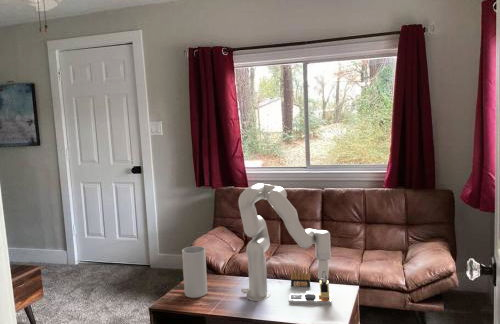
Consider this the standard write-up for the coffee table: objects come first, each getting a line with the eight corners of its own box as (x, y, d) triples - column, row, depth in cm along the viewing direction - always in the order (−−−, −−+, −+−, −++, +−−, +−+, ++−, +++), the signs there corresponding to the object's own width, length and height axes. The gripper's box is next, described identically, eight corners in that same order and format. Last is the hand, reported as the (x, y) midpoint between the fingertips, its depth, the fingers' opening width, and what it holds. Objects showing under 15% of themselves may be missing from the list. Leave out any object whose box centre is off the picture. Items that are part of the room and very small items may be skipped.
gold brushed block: (320, 297, 215) (319, 283, 215) (320, 293, 220) (319, 280, 219) (329, 297, 215) (328, 283, 214) (329, 293, 219) (328, 280, 218)
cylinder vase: (180, 293, 237) (177, 249, 235) (200, 287, 245) (197, 244, 242) (191, 300, 227) (189, 255, 225) (211, 293, 235) (209, 249, 232)
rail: (289, 305, 217) (289, 299, 216) (290, 299, 224) (289, 293, 224) (331, 306, 213) (331, 301, 213) (330, 300, 221) (330, 294, 221)
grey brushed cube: (306, 302, 217) (305, 294, 217) (306, 299, 221) (305, 290, 221) (314, 302, 216) (314, 294, 216) (314, 299, 221) (314, 290, 220)
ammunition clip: (310, 287, 238) (309, 266, 237) (310, 288, 237) (309, 267, 235) (291, 286, 240) (290, 266, 239) (290, 288, 238) (290, 267, 237)
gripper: (315, 249, 224) (316, 283, 226) (315, 260, 207) (316, 297, 209) (330, 249, 223) (331, 283, 225) (331, 260, 206) (332, 297, 208)
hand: (324, 289), depth 217 cm, fingers closed on gold brushed block, 4 cm apart
